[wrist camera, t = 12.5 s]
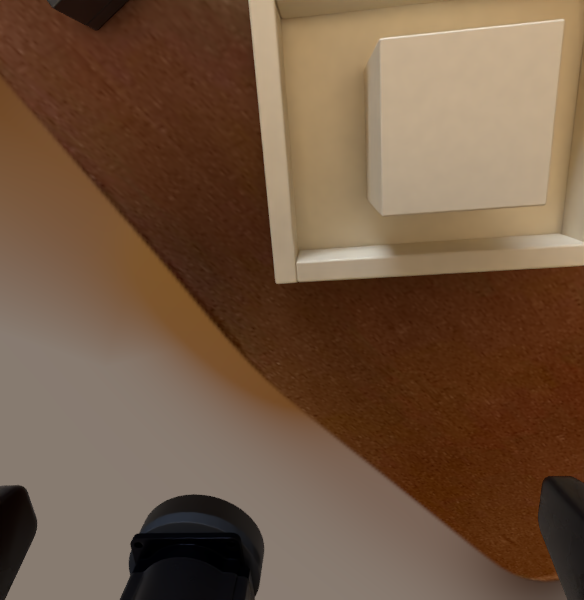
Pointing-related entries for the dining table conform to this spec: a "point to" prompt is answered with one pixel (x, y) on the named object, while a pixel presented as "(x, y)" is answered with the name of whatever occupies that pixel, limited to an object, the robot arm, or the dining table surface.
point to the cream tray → (352, 149)
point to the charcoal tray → (88, 10)
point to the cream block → (462, 118)
